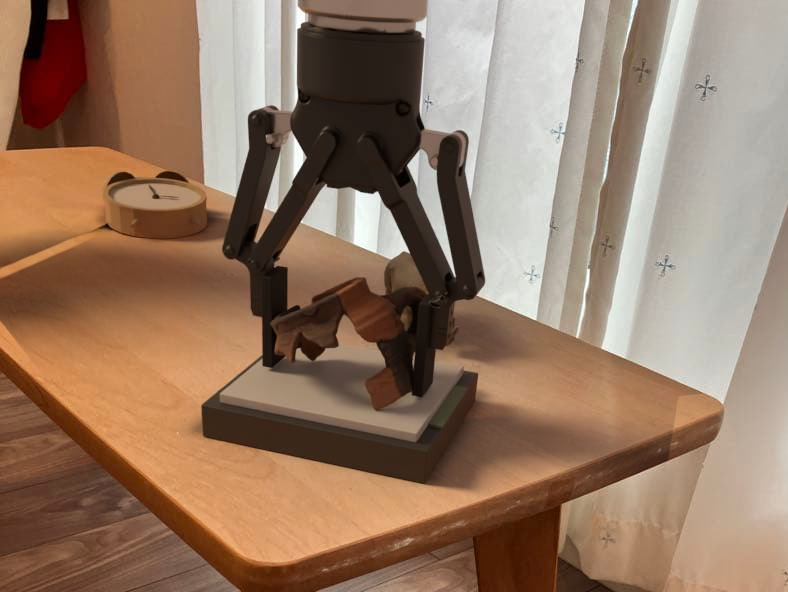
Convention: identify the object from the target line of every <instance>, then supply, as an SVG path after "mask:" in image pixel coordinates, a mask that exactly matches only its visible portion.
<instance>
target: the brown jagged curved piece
mask: <svg viewBox="0 0 788 592" xmlns="http://www.w3.org/2000/svg"><path fill="white" fill-rule="evenodd" d="M426 296H427V294H426V293H425V292H424V291H423V290H422V289H420V288H418V287H413V286H409V287H403V288H401V289H398V290H396V291H393V292H392V293H390V294H387V295H385V294H377V293H376V292H373V291H371V289H370V287H369V284H368V282H367V279H366V277H364V276H362V277H361V276H360V277H359V276H356V277H354V278H351V279H348V280H346V281H344V282H340V283H339V284H337V285H334V286H333V287H331V288H328V289H326V290H324V291H323V292H320V293H318V294H316V295H314V296H312V297H311V300H310V301H311V303H310V304H308V305H306V306H303V307H302V308H301V306H300V305H299V304H295V305H293V306H292V307H289V308H287V310H286V311H284V312H283V313H281V314H279V315H278V316H277V317H276V318H275V319H274V320H272V321H271V323H270V325H271V326H272V327H273V329H274V331H275V332H276V334H277V340H276V344H275V354H276V355H280V356H282V355H283V354H284V355H285V356H286V358H287V359H288V360H289V361H290V362H291V363H294V362H295V356H296V350H297V349H298V348H300V349H301V352H302V353H303V354H304V355H306V357H307V358H308V359H310V360H311V361H315V360H316V358H317V357H319V356H320V355H321V354H322V353H323V352H324V351H325V349H326V348H336V347H338V346H339V343H340V342H339V340H338V337H337V334H338V332H339V327H340V323H341V322H342V319H343V317H344V315H345V317H347V318H348V319H349V320H350V322H351V324H352V326H353V327H354V330H355V333H356V334H357V335H358V336H360V338H362V339H363V340H364V341H365V342H367V343H372V344H374V343H376V346H377V350H380V352H381V354H382V356H383V357H384V359H385V365H386V367H385V368H384V369H382V370H381V372H379V373H377V374H376V375H374V376H373V377H371V378H369V379H367V380H365V382H364V385H365V387H366V389H367V391H368V393H369V394H370V397H371V401H372V404H373V408H374V410H379V409H381V408H383V407H387V406H388V405H390V404H392V403H394V402H395V401H397V400H398V399H400V398H401V397H403V396H405V395H406V394H407V393H410V392H411V391H412V383H413V357H414V356H415V347H416V334H417V322H418V310H419V303H420V302H421V301H422V300H423V299H424V298H425V297H426ZM406 306H409V307H410V308H411V310H412V321H411V324H410V327H409V329H408V330H407V331H406V330H405V329H404V327H405V325H404V324H405V323H404V322H403V321H402V315H403V313H404V311H405V309H404V308H405V307H406Z"/></svg>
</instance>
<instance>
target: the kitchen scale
mask: <svg viewBox="0 0 788 592" xmlns="http://www.w3.org/2000/svg"><path fill="white" fill-rule="evenodd" d="M338 343H339V346H338V347H336V348H326V349H325V351H324V352H323V353H322V354H321V355H320V356H319V357H317V358H316V360H315V361H311V360H310V359H308V358H307V357H306V355H304V354H303V353H302V352H301V349H300V348H298V349H297V350H296V356H295V362H294V363H291V362H290V361H289V360H288V359H287V358H286V357H285V358H283V359H282V360H281V361H280V362H279V363H278V364H276V365H275V366H274V367H273V368H269V367H264V366H263V362H262V355H260V356H259V357H258V358H257V359H255V360H254V361H253V362H251V364H249V365H248V366H246V368H244V369H243V370H242V371H241V372H240V373H239V374H237V375H236V376H235V377H233V378H232V379H231V380H230V381H229V382H227V383H226V384H225V385H224V386H223V387H221V388H220V389H219V390H218V391H216V393H214V394H213V395H212V396H210V397H209V398H208V399H207V400H206V401H204V402H203V403H201V405H200V406H201V426H202V436H203V437H206V438H210V439H215V440H219V441H224V442H228V443H233V444H238V445H243V446H247V447H250V448H251V447H252V448H256V449H262V450H266V451H271V452H275V453H280V454H285V455H289V456H294V457H299V458H304V459H308V460H313V461H318V462H322V463H327V464H332V465H336V466H341V467H346V468H350V469H355V470H360V471H365V472H368V473H373V474H378V475H383V476H386V477H387V476H388V477H393V478H395V479H396V478H397V479H402V480H406V481H411V482H414V483H415V482H416V483H420V484H425V483H426V481H427V480H428V478H430V477H429V476H430V475H431V473H432V472H433V470H434V468H435V467H436V466H437V464H438V462H439V461H440V459H441V457H442V456H443V455H444V452H445V450H446V449H447V447H448V446H449V444H450V443H451V441H452V440H453V438H454V436H455V434H456V433H457V432H458V430H459V428H460V427H461V425H462V423H463V422H464V420H465V418H466V416H467V415H468V413H469V412H470V411H471V408H472V407H473V406H474V403H475V402H476V397H477V389H478V381H479V373H478V372H475V371H469V370H465V365H461V364H456V363H450V362H446V361H440V360H435V363H434V374H433V383H432V385H431V386H430V387H429V389H428V390H427V391H426V393H425V394H424V395H423V397H417V396H412V391H411V392H410V393H407V394H406V395H405V396H403V397H401V398H400V399H398V400H397V401H395V402H394V403H392V404H390V405H388V406H387V407H383V408H381V409H379V410H374V408H373V404H372V401H371V397H370V394H369V393H368V391H367V389H366V387H365V385H364V382H365V380H367V379H369V378H371V377H373V376H374V375H376V374H377V373H379V372H381V370H382V369H384V368H385V367H386V365H385V359H384V357H383V356H382V354H381V352H380V350H379V349H375V348H369V347H364V346H358V345H353V344H349V343H348V344H347V343H344V342H343V343H342V342H338ZM414 359H415V356H413V371H414Z"/></svg>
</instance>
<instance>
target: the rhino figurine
mask: <svg viewBox="0 0 788 592" xmlns="http://www.w3.org/2000/svg"><path fill="white" fill-rule="evenodd" d="M383 284H384V287H385V293H384V295H387V294H390V293H392V292H393V291H396V290H398V289H401V288H403V287H409V286H413V287H418V288H420V289H422V290H423V291H424V292H425V293H426V294H427V295H428V294H429V293H428V291H427V289H426V286H425V284H424V282H423V280H422V278H421V276H420V274H419V271H418V269H417V267H416V265H415V263H414V261H413V259H412V256H411V254H410V252H409V251H405V250H404V251H402V252H401V253H399V254H398V255H396V256H394V257H393V258H391V260H389V261H388V262H387V264H386V266H385V268H384V272H383ZM404 312H405V316H406V320H405V323H403V324H404V325H405V327H404V329H405V330H406V331H407V330H408V329H409V327H410V324H411V321H412V310H411V308H410V307H409V306H406V307H405V308H404ZM455 322H456V319H455V316H453V326H452V336H451V338H450V340H449V342H448V344H447V345H446V346H445V347H449V346H451V345H452V343H453V342H454V341H455V339H456V338H455V336H456V335H457V334H458V333H459V328H460V327H459V325H456V326H455Z"/></svg>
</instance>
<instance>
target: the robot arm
mask: <svg viewBox="0 0 788 592" xmlns="http://www.w3.org/2000/svg"><path fill="white" fill-rule="evenodd" d="M428 2H429V0H297V7H298V8H299V9H300V11H301V12H303V13H305V14H307V21H304V22H302V23H301V24H300V27H299V28H297V29H296V90H297V98H296V99H297V101H296V102H295V103H296V104H295V106H294V108H293V111H291V110H290V111H289V110H280V109H279V108H278V107H277V106H275V105H273V104H270V105H267V106H264V107H260V108H256V109H253V110H251V111H250V112H249V113H248V115H247V135H248V151H247V155H246V158H245V162H244V166H243V170H242V172H241V177H240V180H239V184H238V188H237V193H236V194H235V199H234V203H233V206H232V210H231V212H230V217H229V221H228V225H227V227H226V232H225V235H224V239H223V243H222V246H221V251H222V255H223V256H224V257H225V258H226V259H227V260H231V261H233V260H236V261H237V262H239V263H241V264H243V265H244V266H245V267H246V268H247V270H248V273H249V294H250V296H249V297H250V302H249V303H250V304H249V305H250V311H251V313H252V316H253V317H258V318H261V346H262V347H261V348H262V349H261V350H262V351H261V353H262V355H261V356H262V362H263V366H264V367H269V368H273V367H274V366H275V365H276V364H278V363H279V362H280V361H281V360H282V359H283V358H285V357H286V356H285V355H284V354H283V355H282V356H280V355H276V354H275V344H276V340H277V334H276V332H275V331H274V329H273V327H272V326H271V325H270V323H271V321H272V320H274V319H275V318H276V317H277V316H278V315H279V314H281V313H283V312H284V311H286V310H288V309H289V308H288V307H289V306H288V305H289V304H288V301H289V299H288V295H289V293H288V292H289V291H288V290H289V287H288V281H289V280H288V279H289V278H288V277H289V276H288V275H289V273H288V271H289V269H288V267H287V266H280V265H277V266H275V263H277V262H278V261H279V260H280V259H281V257H280V256H281V254H282V253H283V251H284V250H285V248H286V246H287V245H288V243H289V241H290V240H291V239H292V237H293V235H294V233H295V232H296V231H297V229H298V227H299V226H300V224H301V223H302V222H303V220H304V217H305V216H306V214H307V213H308V211H309V210H310V208H311V207H312V206H313V205H312V204H313V203H314V201H316V198H317V197H318V195H319V194H320V192H321V191H322V189H324V187H325V186H326V188H329V189H336V190H340V189H346V188H347V189H348V188H351V189H352V190H355V191H357V192H359V193H361V194H369V195H374V194H375V193H378V195H379V198H380V199H381V201H382V203H383V205H384V207H385V208H387V210H389V212H390V214H391V215H392V218H393V220H394V222H395V224H396V226H397V228H398V230H399V233H400V235H401V237H402V239H403V241H404V243H405V246H406V248H407V250H408V253H410V254H411V256H412V259H413V261H414V263H415V265H416V267H417V269H418V271H419V274H420V276H421V278H422V280H423V282H424V284H425V286H426V289H427V291H428V293H429V294H428V295H427V296H426V297H425V298H424V299H423V300H422V301H421V302H420V303H419V310H418V322H417V334H416V347H415V353H414V357H415V359H414V371H413V383H412V396H417V397H423V395H424V394H425V393H426V391H427V390H428V389H429V387H430V386H431V385H432V383H433V374H434V363H435V361H436V350H438V351H443V350H444V349H445V348H446V347H447V346H446V345H447V344H448V342H449V340H450V338H451V336H452V326H453V317H455V316H454V315H455V306H456V302H457V301H462V300H465V301H471V300H473V299H475V298H476V296H478V294H479V293H480V292H481V290H482V289H483V288H484V286H485V285H486V275H485V270H484V265H483V260H482V253H481V249H480V248H481V247H480V243H479V239H478V233H477V227H476V222H475V217H474V211H473V207H472V200H471V195H470V190H469V184H468V180H467V174H466V166H467V158H468V151H469V144H470V138H469V135H468V134H467V132H465V131H464V130H462V129H457V130H454V131H453V132H444V131H439V130H433V129H428V128H425V125H424V122H423V120H422V115H421V108H420V107H421V106H420V105H421V97H422V84H423V83H422V82H423V72H424V71H423V70H424V69H423V68H424V55H425V43H426V39H425V38H424V36H423V35H422V32H421V31H420V30H416V29H417V23H419V22H423V21H424V20H425V19H426V18H427V17H428V5H429V4H428ZM422 36H423V37H422ZM291 132H292V135H293V136H294V138H295V140H296V141H297V143H298V145H299V147H300V148H301V150H302V152H303V154H304V156H305V157H306V158H305V159H304V160H303V163H302V164H301V166H300V167H299V169H298V171H297V173H296V175H295V176H294V178H293V179H292V181H291V186H290V188H289V190H288V191H287V193H286V195H285V196H284V198H283V200H282V201H281V203H280V205H279V206H278V208H277V209H276V211H275V212H274V214H273V216H272V218H271V219H270V221H269V223H268V224H267V226H266V228H265V229H264V231H263V233H262V234H261V236H260V237H259V239H258V240H257V242H256V238H257V234H258V231H259V228H260V224H261V221H262V217H263V213H264V211H265V207H266V203H267V200H268V196H269V193H270V190H271V187H272V183H273V181H274V180H273V179H274V176H275V172H276V170H277V165H278V162H279V159H280V155H281V150H282V146H283V145H286V143H287V142H288V140H289V137H290V136H289V135H290V134H291ZM420 150H423V152H425V154H426V156H427V161H428V164H429V167H430V168H431V169H432V170H435V171H436V183H437V184H436V185H437V191H438V196H439V202H440V206H441V212H442V217H443V222H444V226H445V231H446V236H447V241H448V246H449V251H450V256H451V260H452V266H453V270H454V272H453V270H452V267H451V265H450V263H449V261H448V259H447V256H446V255H445V252H444V250H443V247H442V246H441V243H440V241H439V238H438V237H437V235H436V232H435V230H434V228H433V226H432V223H431V221H430V219H429V217H428V214H427V212H426V211H425V210H426V209H425V208H424V206H423V203H422V201H421V199H420V197H419V193H418V187H417V184H416V182H415V180H414V178H413V177H414V176H413V175H412V173H411V171H410V169H409V166H408V165H409V164H410V163H411V161H412V160H413V159H414V157H416V155H417V154H418V152H419V151H420Z"/></svg>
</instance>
